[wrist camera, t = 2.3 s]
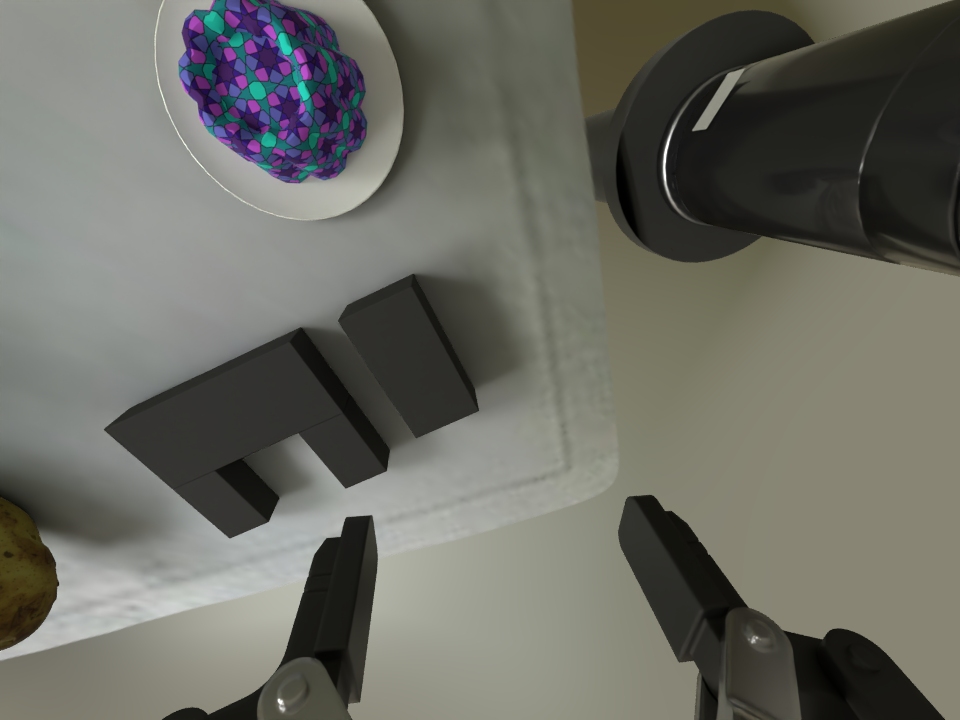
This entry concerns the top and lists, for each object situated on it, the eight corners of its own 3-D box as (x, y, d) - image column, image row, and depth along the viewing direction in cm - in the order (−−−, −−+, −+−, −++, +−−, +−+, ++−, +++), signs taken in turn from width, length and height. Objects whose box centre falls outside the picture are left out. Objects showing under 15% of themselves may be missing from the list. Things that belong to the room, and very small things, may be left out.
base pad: (301, 326, 26) (289, 341, 24) (390, 449, 32) (387, 471, 30) (129, 408, 28) (102, 429, 25) (243, 513, 33) (229, 538, 31)
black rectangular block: (413, 273, 26) (411, 285, 23) (474, 389, 30) (479, 411, 27) (347, 305, 26) (337, 320, 23) (417, 415, 31) (416, 438, 28)
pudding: (434, 184, 23) (435, 188, 19) (246, 244, 24) (202, 263, 19) (349, -90, 18) (320, -180, 13) (106, -7, 18) (-5, -67, 14)
